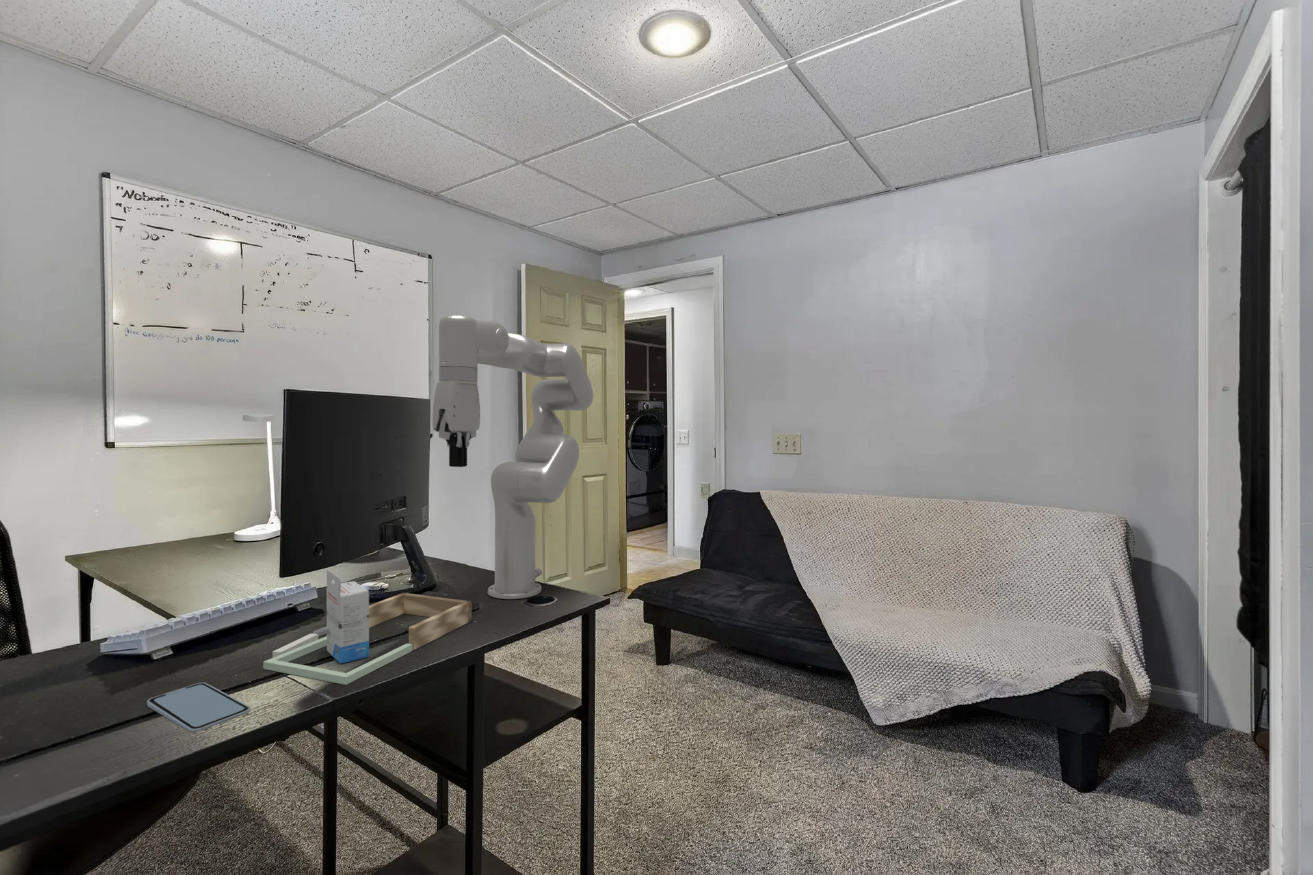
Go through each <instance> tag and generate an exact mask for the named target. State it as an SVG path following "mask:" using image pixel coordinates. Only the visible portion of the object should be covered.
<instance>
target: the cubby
mask: <svg viewBox="0 0 1313 875" xmlns="http://www.w3.org/2000/svg"><path fill="white" fill-rule="evenodd" d="M472 602H473V601H470V600H463V599H456V598H447V597H439V596H432V595H431V596H430V595H423V594H415V593H407V592H401V593H399V594H397V595H393V596H391V597H388V598H385V599H383V600H380V601H378V602H375V603H372V604H369V629H370V628H372V627H375V626H377V625H379V624H382V623H384V622H387V621H389V620H392V619H394V618H397V617H398V616H402V615H403V614H406V615H412V616H419V617H427V618H426V619H424V620H421V621H419V622H417V623H415V624H413V625H410V626H409V627H408V644H412V651H415V650H417V649H419V648H421V647H423V646H424V645H427V644H429V643H430V642H432V641H435V640H437V639H439V638H441V637H442V636H445V635H447V634H448V633H450V632H452V631H454V630H457V629H458V628H460V627H462V626H464V625H466V624H468V623H470V622H472V620H473V619H472V618H473V616H472V615H473V613H472V612H473V610H472V606H473V604H472Z"/></svg>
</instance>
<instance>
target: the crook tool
mask: <svg viewBox="0 0 1313 875" xmlns="http://www.w3.org/2000/svg"><path fill="white" fill-rule="evenodd" d="M312 634H318V637H320V636H323V635H327V625H326V626H324V627H320V628H319V629H316V630H314V631H312Z"/></svg>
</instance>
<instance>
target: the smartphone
mask: <svg viewBox="0 0 1313 875" xmlns="http://www.w3.org/2000/svg"><path fill="white" fill-rule="evenodd" d="M146 706H147V707H148V708H150V709H151V710H153V711H155V712H156V713H158V714H159V715H161V716H163V717H165V718H166V719H168V720H170V721H172V722H173V723H175V724H177V725H178V726H180V727H181V728H183V729H185V730H186V731H188V732H190V733H194V732H200V731H203V730H207V729H208V728H211V727H214V726H216V725H219V724H222V723H224V722H227V721H230V720H232V719H235V718H239V717H240V716H243V715H246V714H248V713H250V712H251V706H249V705H248V704H245V703H244V702H242V701H240V700H238V699H236V698H235V697H233V696H231V695H229V694H227V693H225V692H223V691H221V690H220V689H218V688H216V687H215V686H213V685H211V684H210V683H209V684H208V683H207V682H197V683H194V684H190V685H188V686H185V687H182V688H179V689H175V690H172V691H169V692H165V693H163V694H159V695H157V696H154V697H151V698H149V699H148V700H147V701H146Z"/></svg>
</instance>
